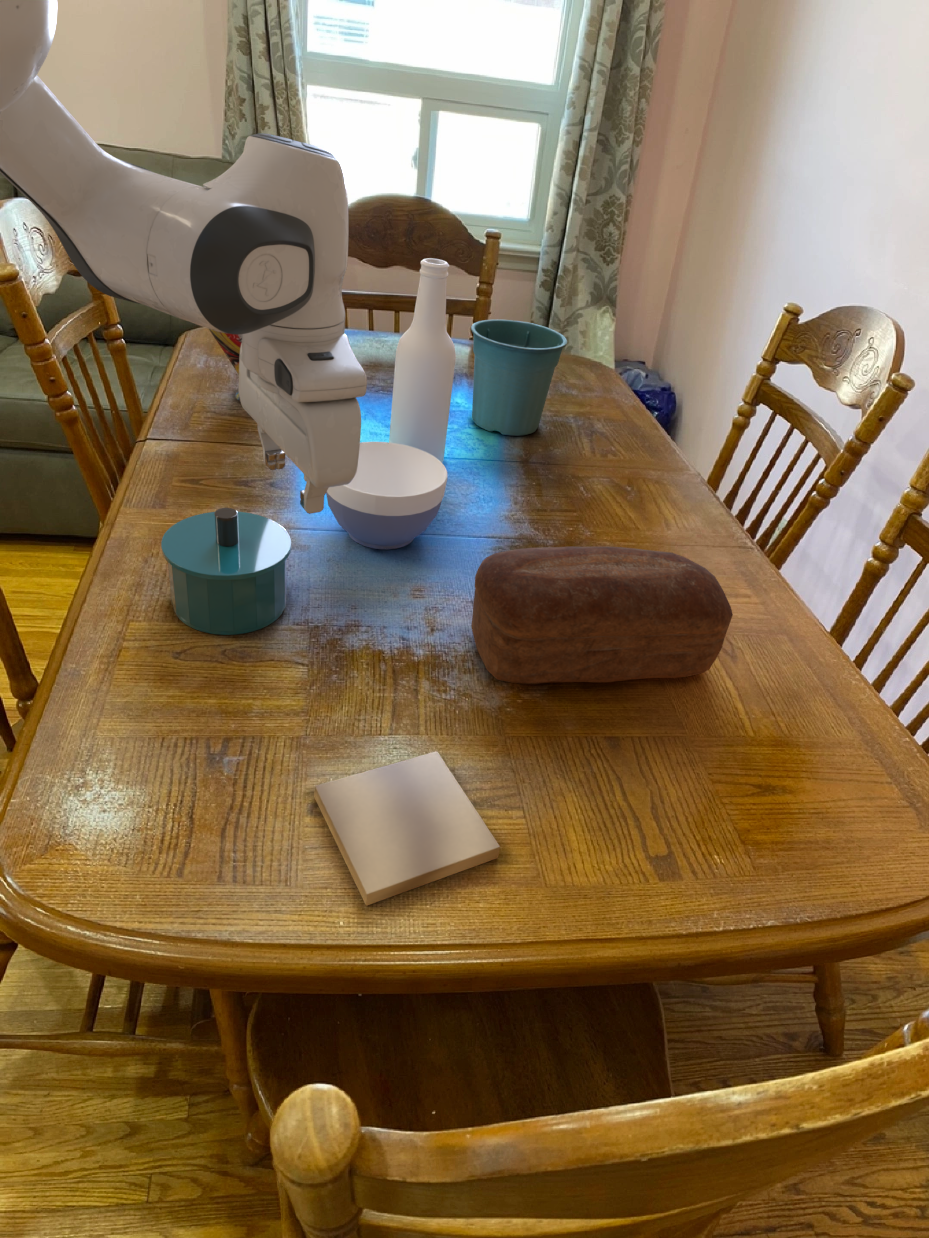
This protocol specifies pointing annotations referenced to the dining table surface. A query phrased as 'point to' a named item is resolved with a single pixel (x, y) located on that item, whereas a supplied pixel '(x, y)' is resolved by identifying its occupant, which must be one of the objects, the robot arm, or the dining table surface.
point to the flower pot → (512, 374)
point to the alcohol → (424, 368)
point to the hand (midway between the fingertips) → (292, 487)
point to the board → (404, 826)
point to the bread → (596, 615)
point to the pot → (229, 601)
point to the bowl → (389, 495)
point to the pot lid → (226, 545)
